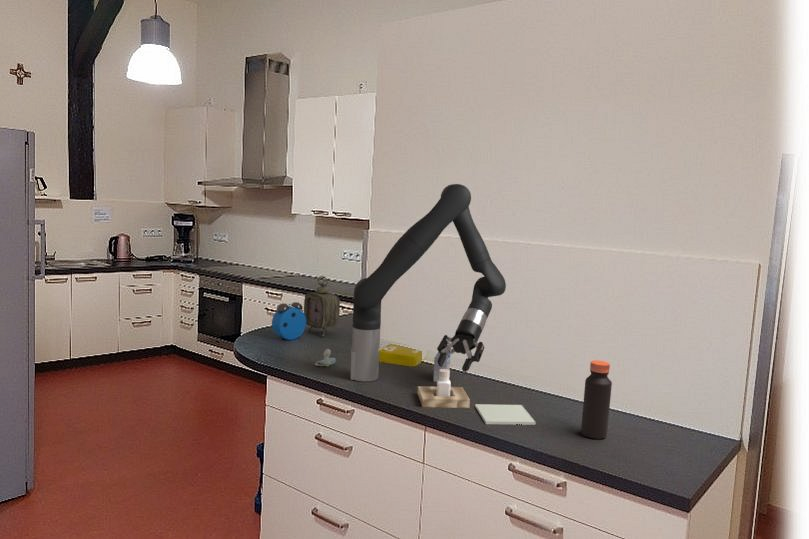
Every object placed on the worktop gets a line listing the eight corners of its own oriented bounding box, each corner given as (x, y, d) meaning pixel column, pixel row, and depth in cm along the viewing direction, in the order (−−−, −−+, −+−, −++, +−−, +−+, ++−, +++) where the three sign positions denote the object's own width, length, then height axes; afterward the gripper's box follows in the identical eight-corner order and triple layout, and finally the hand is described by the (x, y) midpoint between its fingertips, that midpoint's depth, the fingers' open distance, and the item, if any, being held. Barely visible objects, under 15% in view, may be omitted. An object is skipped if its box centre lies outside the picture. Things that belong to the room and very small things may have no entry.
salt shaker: (436, 398, 196) (437, 368, 195) (449, 399, 196) (450, 369, 195) (436, 402, 192) (438, 371, 191) (449, 403, 192) (451, 372, 191)
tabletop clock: (303, 332, 275) (304, 274, 272) (320, 329, 281) (322, 273, 278) (322, 338, 264) (324, 279, 261) (340, 336, 270) (342, 277, 267)
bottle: (592, 441, 168) (598, 367, 165) (575, 431, 174) (581, 360, 171) (612, 438, 170) (619, 365, 168) (595, 429, 176) (601, 358, 174)
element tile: (414, 368, 230) (415, 355, 229) (375, 362, 235) (376, 349, 234) (427, 358, 244) (428, 346, 243) (390, 353, 249) (391, 341, 248)
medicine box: (446, 383, 212) (447, 358, 210) (432, 382, 212) (434, 356, 211) (449, 377, 219) (450, 352, 218) (436, 375, 220) (438, 351, 219)
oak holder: (422, 407, 187) (422, 399, 187) (417, 394, 199) (418, 386, 199) (469, 407, 189) (469, 399, 188) (461, 394, 200) (462, 387, 200)
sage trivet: (485, 424, 176) (486, 421, 176) (475, 406, 190) (475, 404, 190) (535, 424, 177) (535, 422, 177) (521, 407, 191) (521, 404, 191)
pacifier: (311, 365, 225) (323, 369, 221) (311, 348, 224) (323, 351, 221) (325, 362, 231) (337, 365, 227) (326, 345, 230) (338, 347, 226)
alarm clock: (298, 335, 268) (299, 300, 266) (306, 338, 264) (307, 302, 262) (270, 339, 259) (271, 302, 257) (279, 342, 255) (280, 305, 253)
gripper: (448, 315, 206) (427, 356, 197) (488, 322, 198) (468, 365, 190) (455, 329, 211) (435, 370, 203) (494, 336, 203) (475, 379, 195)
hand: (451, 367), depth 196 cm, fingers open, 8 cm apart
